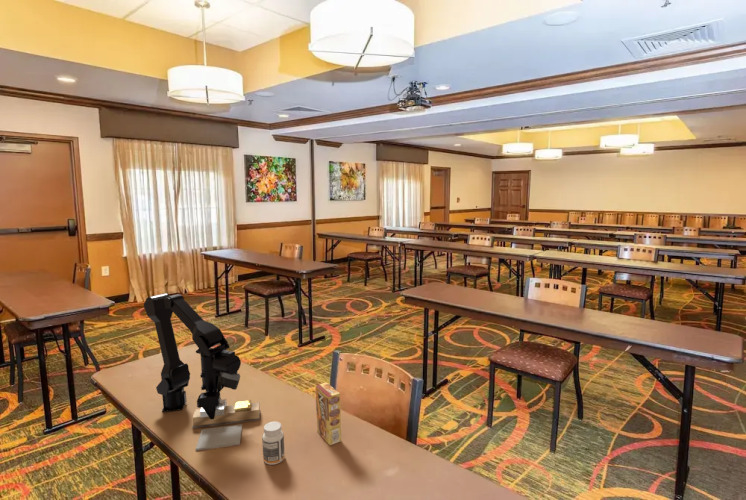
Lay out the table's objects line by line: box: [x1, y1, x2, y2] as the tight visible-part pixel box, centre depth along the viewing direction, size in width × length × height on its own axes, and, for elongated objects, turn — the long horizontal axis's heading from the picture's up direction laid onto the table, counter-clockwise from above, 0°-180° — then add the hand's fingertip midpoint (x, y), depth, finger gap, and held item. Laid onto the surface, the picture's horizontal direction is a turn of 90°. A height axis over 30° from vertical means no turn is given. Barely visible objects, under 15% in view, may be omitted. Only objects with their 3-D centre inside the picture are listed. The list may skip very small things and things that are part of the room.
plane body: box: [192, 401, 261, 429], centre depth 134 cm, size 20×5×4 cm, turn 103°
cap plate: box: [200, 398, 228, 418], centre depth 133 cm, size 7×6×2 cm
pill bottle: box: [261, 421, 285, 466], centre depth 114 cm, size 6×6×10 cm
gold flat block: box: [234, 399, 252, 411], centre depth 135 cm, size 1×4×5 cm
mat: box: [195, 424, 243, 452], centre depth 124 cm, size 12×10×1 cm
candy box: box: [315, 382, 342, 446], centre depth 123 cm, size 9×4×15 cm, turn 33°
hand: (214, 413), depth 133 cm, fingers closed on cap plate, 6 cm apart
